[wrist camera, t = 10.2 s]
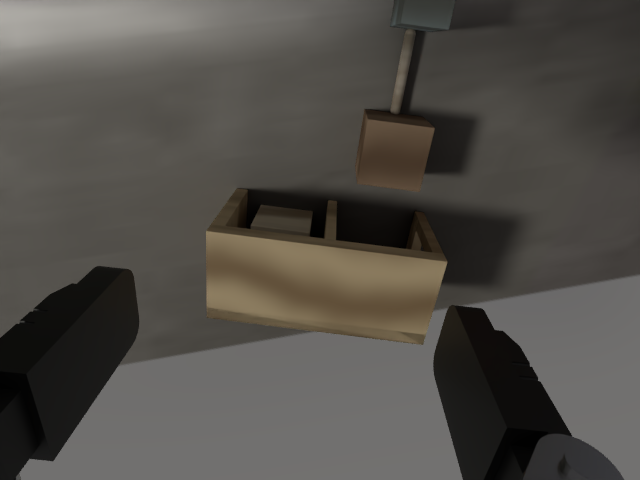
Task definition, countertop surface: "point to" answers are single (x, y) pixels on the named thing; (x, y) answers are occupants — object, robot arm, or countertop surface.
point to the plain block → (283, 220)
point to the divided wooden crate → (322, 278)
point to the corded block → (399, 129)
